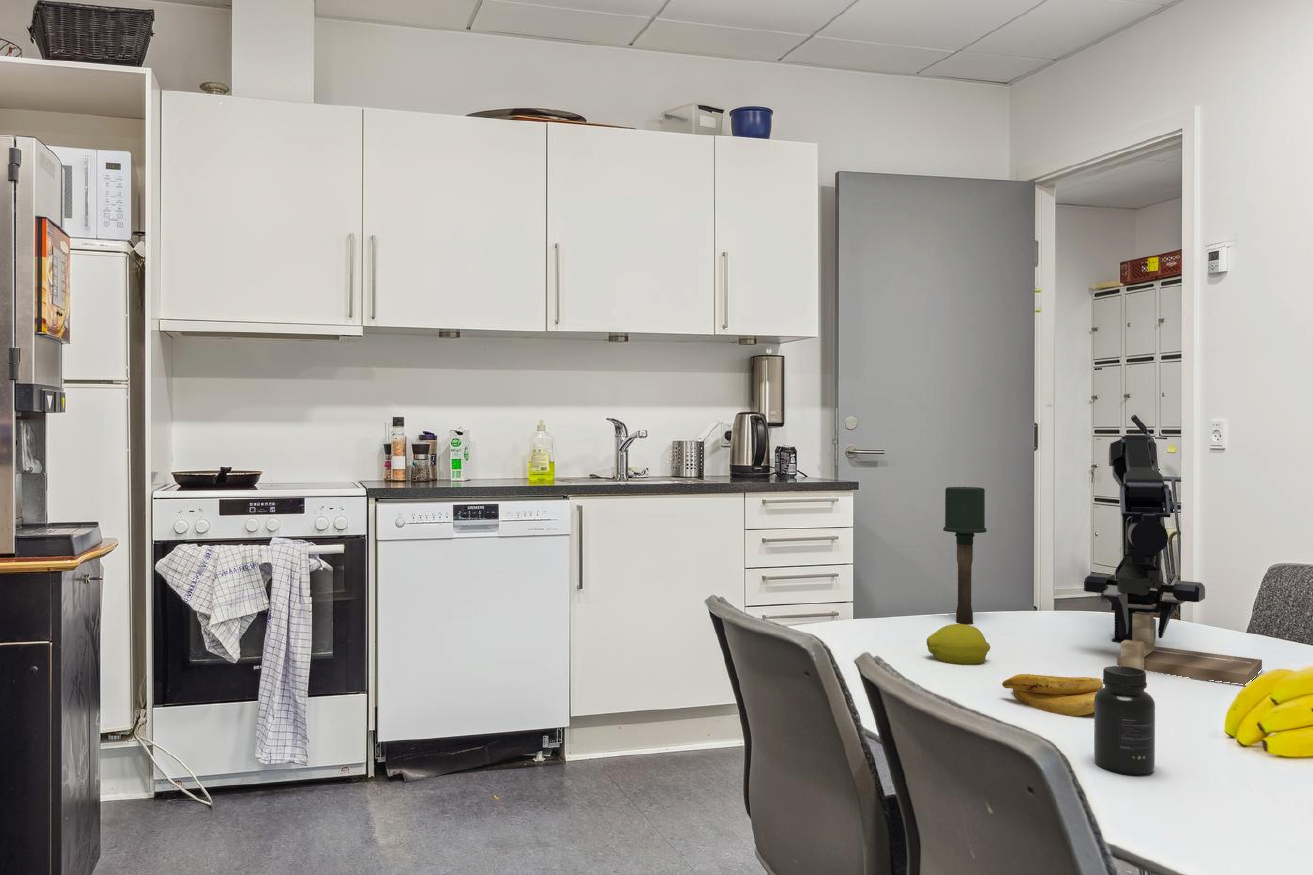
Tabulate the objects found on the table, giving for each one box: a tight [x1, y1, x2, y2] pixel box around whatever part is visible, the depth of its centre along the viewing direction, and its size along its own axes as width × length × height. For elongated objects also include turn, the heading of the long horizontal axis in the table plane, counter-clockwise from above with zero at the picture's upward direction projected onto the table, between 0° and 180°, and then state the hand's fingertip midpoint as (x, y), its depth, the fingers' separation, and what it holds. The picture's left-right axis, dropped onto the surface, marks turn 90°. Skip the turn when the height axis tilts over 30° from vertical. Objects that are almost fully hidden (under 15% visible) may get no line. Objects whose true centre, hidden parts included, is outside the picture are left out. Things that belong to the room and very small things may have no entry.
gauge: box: [1120, 612, 1156, 672], centre depth 177 cm, size 3×13×9 cm, turn 141°
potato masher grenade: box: [942, 486, 987, 626], centre depth 207 cm, size 8×9×30 cm
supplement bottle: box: [1093, 665, 1156, 776], centre depth 124 cm, size 7×7×12 cm
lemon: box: [926, 623, 991, 666], centre depth 175 cm, size 11×8×8 cm
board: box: [1116, 645, 1263, 685], centre depth 175 cm, size 20×14×2 cm
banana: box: [1001, 673, 1104, 717], centre depth 151 cm, size 15×19×6 cm
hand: (1143, 635), depth 178 cm, fingers open, 5 cm apart
